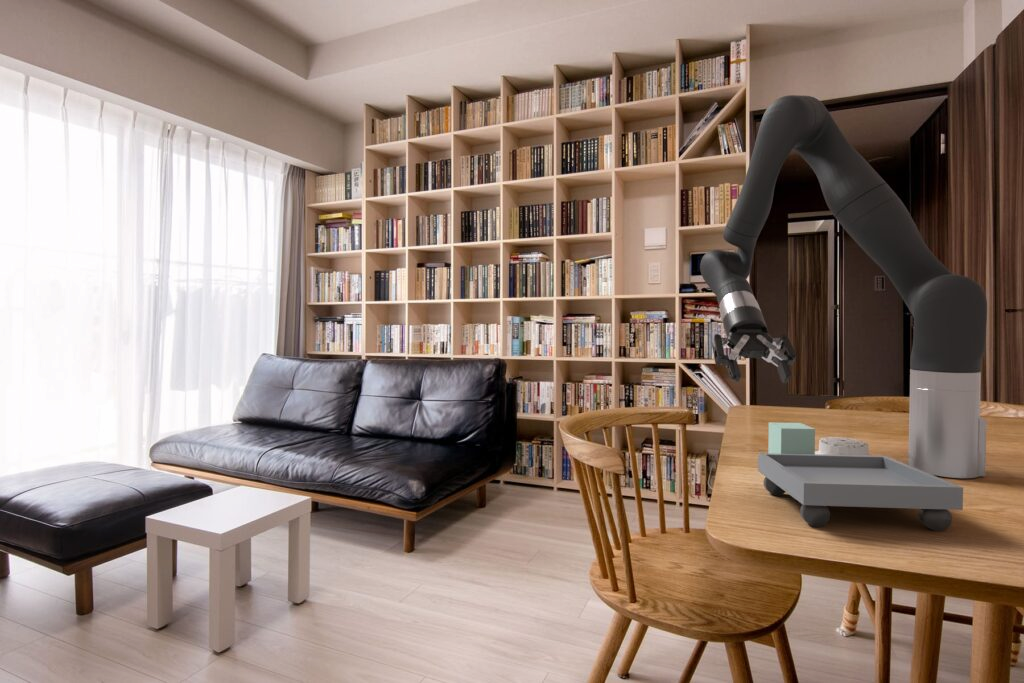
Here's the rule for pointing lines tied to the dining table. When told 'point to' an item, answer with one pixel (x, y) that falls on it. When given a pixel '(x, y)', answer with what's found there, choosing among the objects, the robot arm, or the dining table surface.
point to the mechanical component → (842, 446)
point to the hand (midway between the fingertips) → (762, 379)
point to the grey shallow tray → (859, 486)
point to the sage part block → (791, 438)
